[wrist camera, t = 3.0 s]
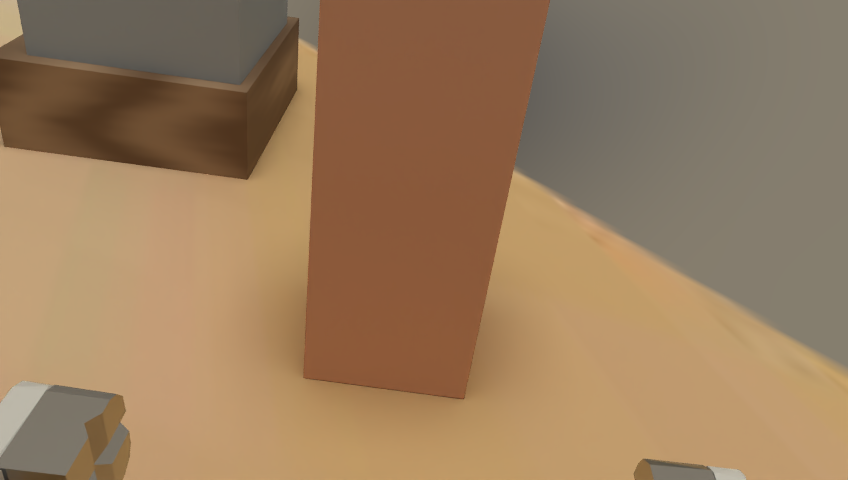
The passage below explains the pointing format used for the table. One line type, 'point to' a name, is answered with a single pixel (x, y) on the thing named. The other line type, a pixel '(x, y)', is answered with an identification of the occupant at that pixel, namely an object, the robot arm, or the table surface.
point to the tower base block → (146, 110)
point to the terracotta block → (411, 183)
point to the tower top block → (156, 34)
